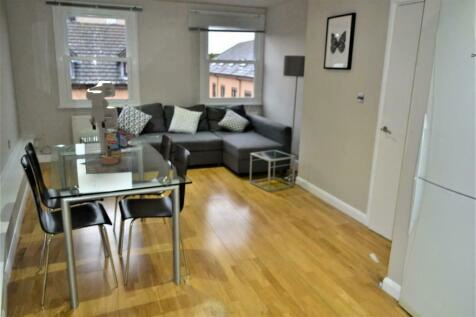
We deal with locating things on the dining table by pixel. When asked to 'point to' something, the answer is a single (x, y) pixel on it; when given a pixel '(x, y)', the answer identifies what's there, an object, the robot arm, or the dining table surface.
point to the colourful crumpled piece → (124, 138)
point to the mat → (91, 163)
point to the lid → (109, 155)
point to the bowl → (110, 161)
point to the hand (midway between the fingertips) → (99, 128)
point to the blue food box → (113, 143)
